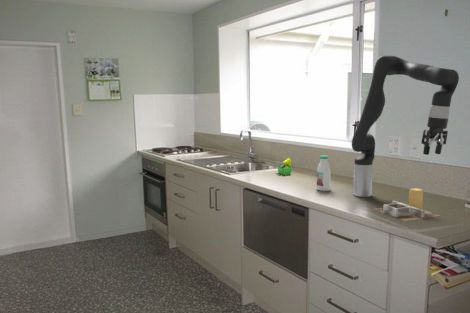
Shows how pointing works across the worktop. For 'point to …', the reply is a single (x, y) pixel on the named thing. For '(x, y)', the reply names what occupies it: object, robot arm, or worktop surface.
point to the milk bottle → (323, 174)
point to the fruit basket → (285, 167)
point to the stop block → (416, 198)
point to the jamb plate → (404, 211)
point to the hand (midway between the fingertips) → (431, 154)
